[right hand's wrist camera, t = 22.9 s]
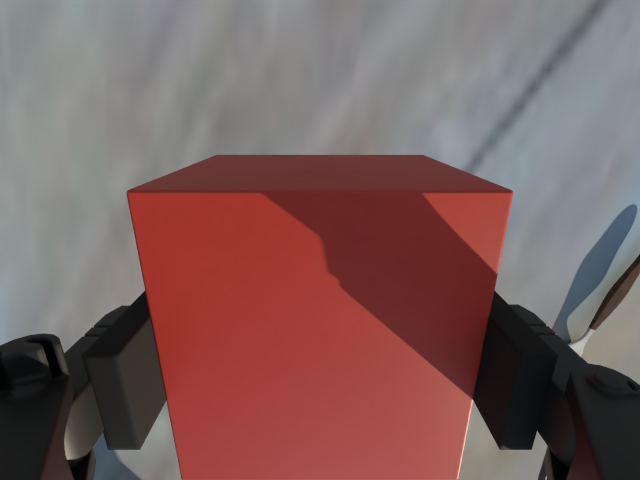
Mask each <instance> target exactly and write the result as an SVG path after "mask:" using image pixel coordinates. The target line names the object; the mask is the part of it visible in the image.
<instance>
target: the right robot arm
mask: <svg viewBox="0 0 640 480" xmlns="http://www.w3.org/2000/svg"><path fill="white" fill-rule="evenodd" d="M473 400H474V402H475V404H476V406H477V408H478V410H479V412H480V413H481V415H482V417H483V419H484V421H485V423H486V425H487V427H488V428H489V430H490V432H491V434H492V436H493V438H494V440H495V441H496V443H497V445H498V447H499V449H500V450H532V446H533V443H534V439H535V436H536V432H537V431H538V432H539V434H540V435H541V437H542V438H543V440H544V441H545V443H546V444H547V445H548V447H547V450H546V454H545V457H544V460H543V463H542V467H541V470H540V473H539V476H538V480H545V478H547V480H640V385H639V384H637V383H636V382H635V381H633V380H632V379H631V378H629V377H627V376H625V375H623V374H621V373H619V372H617V371H615V370H613V369H610V368H607V367H604V366H600V365H594V364H588V363H587V362H586V361H585V360H584V359H583V358H581V357H580V356H579V355H578V354H577V353H576V352H575V351H574V350H573V349H572V348H571V347H570V346H569V345H568V344H566V343H565V342H564V341H563V340H562V339H561V338H560V337H559V336H558V335H555V332H554V331H553V330H551V329H550V328H549V327H548V326H546V324H545V323H544V322H543V321H542V320H541V319H540V318H539V317H538V316H536V315H535V314H534V313H532V312H531V311H529V310H527V309H525V308H523V307H522V306H520V305H508V304H507V303H506V302H505V301H504V300H503V299H502V298H501V297H500V296H499V295H498V294H497V293H496V292H495V291H494V295H493V300H492V305H491V310H490V315H489V321H488V326H487V331H486V336H485V341H484V346H483V352H482V357H481V362H480V367H479V372H478V378H477V383H476V388H475V393H474V398H473ZM165 402H166V395H165V390H164V384H163V379H162V374H161V369H160V364H159V359H158V353H157V348H156V343H155V338H154V333H153V327H152V322H151V317H150V312H149V307H148V302H147V296H146V291H144V292H143V293H142V294H141V295H140V296H139V297H138V298H137V299H136V300H135V301H134V302H133V304H132V305H131V306H121V307H119V308H117V309H115V310H113V311H112V312H110V313H108V314H106V315H105V316H104V317H103V318H102V319H101V320H100V321H98V322H97V323H96V324H95V325H94V328H91V329H90V330H89V331H88V332H87V333H86V334H85V336H84V337H81V338H80V339H79V340H78V341H77V342H76V343H75V344H74V345H73V346H72V347H71V348H70V349H69V350H68V351H67V352H65V353H64V352H63V349H62V346H61V342H60V339H59V338H58V337H57V336H55V335H53V334H36V335H29V336H25V337H22V338H18V339H15V340H12V341H10V342H8V343H5V344H3V345H1V346H0V480H93V478H94V471H95V464H96V460H95V454H94V450H93V446H94V444H95V443H96V441H97V440H98V438H99V437H100V435H101V434H102V432H103V433H104V437H105V440H106V444H107V447H108V450H140V448H141V447H142V445H143V443H144V441H145V439H146V437H147V435H148V434H149V432H150V430H151V428H152V426H153V424H154V422H155V420H156V419H157V417H158V415H159V413H160V411H161V409H162V407H163V406H164V404H165Z"/></svg>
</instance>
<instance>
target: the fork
mask: <svg viewBox="0 0 640 480" xmlns="http://www.w3.org/2000/svg"><path fill="white" fill-rule="evenodd" d="M639 274H640V255H639V256H638V257H637V258H636V260H635V261H634V262H633V263H632V265H631V266H630V267H629V268H628V269H627V270H626V272H625V273H624V274H623V275H622V276H621V277H620V278H619V280H618V281H617V282H616V283H615V284H614V285H613V287H612V288H611V289H610V291H609V292H608V294H607V295H606V297H605V298H604V300H603V302H602V304H601V305H600V307H599V309H598V311H597V313H596V314H595V316H594V318H593V320H592V322H591V324H590V325H589V327H588V329H587V331H586V332H585V334H584V335H583V336H582V337H581V338H580V339H578V340H576V341H574V342H571V343H569V344H568V345H569V346H570V347H571V348H572V349H573V350H574V351H575V352H576V353H577V354H578V355H579V356H580V357H581V355H582V352H583V348H584V345H585V343H586V341H587V340H588V338H589V337H590V336H591V334H592V333H593V332H594V331H595V330H596V329H597V328H598V327H599V326H600V324H601V323H602V322H603V321H604V320H605V319H606V318H607V317H608V316H609V315H610V314H611V313H612V312H613V311H614V309H615V308H616V307H617V306H618V305H619V304H620V303H621V301H622V300H623V299H624V298H625V296H626V295H627V293H628V292H629V290H630V289H631V287H632V285H633V284H634V282H635V280H636V279H637V277H638V275H639Z"/></svg>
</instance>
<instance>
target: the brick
mask: <svg viewBox="0 0 640 480" xmlns="http://www.w3.org/2000/svg"><path fill="white" fill-rule="evenodd" d="M512 196H513V191H512V190H510V189H507V188H505V187H502V186H500V185H497V184H494V183H492V182H489V181H487V180H484V179H482V178H479V177H477V176H474V175H472V174H469V173H467V172H464V171H462V170H459V169H457V168H454V167H452V166H449V165H447V164H444V163H442V162H439V161H437V160H434V159H431V158H429V157H426V156H424V155H216V156H213V157H211V158H208V159H206V160H203V161H200V162H198V163H195V164H193V165H190V166H188V167H185V168H183V169H180V170H178V171H175V172H173V173H170V174H168V175H165V176H163V177H160V178H158V179H155V180H153V181H150V182H148V183H145V184H143V185H140V186H138V187H135V188H133V189H130V190H128V191H127V198H128V203H129V208H130V213H131V219H132V224H133V229H134V234H135V239H136V244H137V250H138V255H139V260H140V265H141V270H142V276H143V281H144V286H145V291H146V296H147V302H148V307H149V312H150V317H151V322H152V327H153V333H154V338H155V343H156V348H157V353H158V359H159V364H160V369H161V374H162V379H163V384H164V390H165V395H166V400H167V405H168V410H169V416H170V421H171V426H172V431H173V436H174V442H175V447H176V452H177V457H178V462H179V467H180V473H181V478H182V480H457V479H458V476H459V471H460V466H461V460H462V455H463V450H464V445H465V440H466V434H467V429H468V424H469V419H470V414H471V409H472V403H473V398H474V393H475V388H476V383H477V378H478V372H479V367H480V362H481V357H482V352H483V346H484V341H485V336H486V331H487V326H488V321H489V315H490V310H491V305H492V300H493V295H494V290H495V284H496V279H497V274H498V269H499V264H500V258H501V253H502V248H503V243H504V238H505V233H506V227H507V222H508V217H509V212H510V207H511V201H512Z"/></svg>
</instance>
